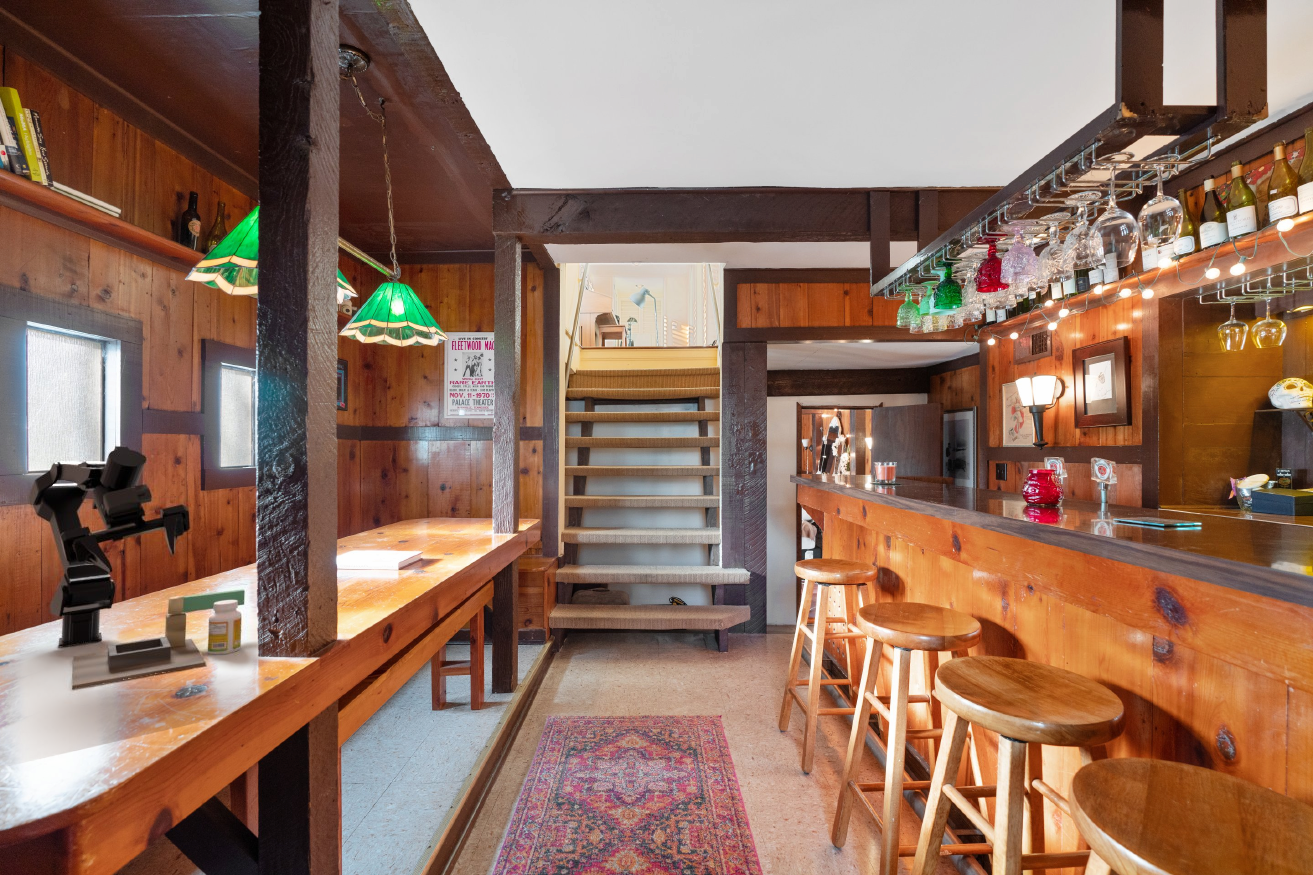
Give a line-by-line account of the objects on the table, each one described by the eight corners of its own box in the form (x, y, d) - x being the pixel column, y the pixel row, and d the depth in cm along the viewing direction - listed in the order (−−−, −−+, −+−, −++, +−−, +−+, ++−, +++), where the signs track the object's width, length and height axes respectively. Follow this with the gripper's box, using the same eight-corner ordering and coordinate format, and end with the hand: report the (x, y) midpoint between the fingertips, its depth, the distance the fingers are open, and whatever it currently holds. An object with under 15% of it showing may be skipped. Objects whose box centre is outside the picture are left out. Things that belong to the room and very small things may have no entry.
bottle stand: (73, 659, 117) (74, 624, 117) (191, 641, 129) (192, 609, 130) (72, 689, 103) (73, 648, 103) (205, 665, 115) (206, 629, 115)
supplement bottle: (234, 645, 127) (235, 597, 127) (245, 650, 124) (246, 601, 124) (203, 651, 123) (204, 602, 123) (213, 656, 120) (215, 606, 120)
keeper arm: (168, 614, 124) (169, 599, 124) (167, 612, 126) (167, 597, 126) (244, 604, 132) (245, 590, 132) (242, 602, 134) (242, 588, 134)
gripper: (45, 489, 111) (69, 549, 104) (173, 464, 124) (201, 516, 118) (55, 532, 117) (78, 591, 110) (176, 504, 130) (203, 555, 124)
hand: (143, 561), depth 115 cm, fingers open, 9 cm apart
